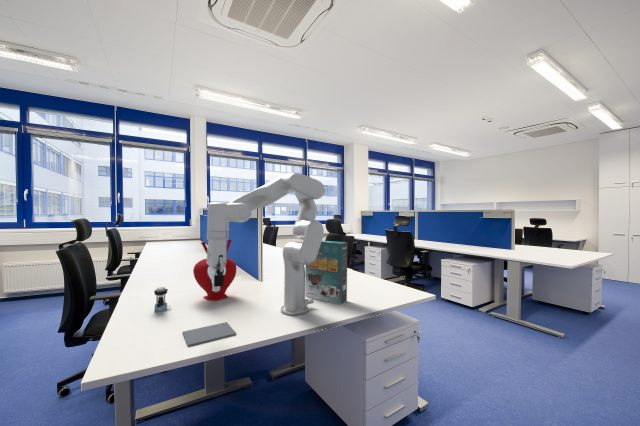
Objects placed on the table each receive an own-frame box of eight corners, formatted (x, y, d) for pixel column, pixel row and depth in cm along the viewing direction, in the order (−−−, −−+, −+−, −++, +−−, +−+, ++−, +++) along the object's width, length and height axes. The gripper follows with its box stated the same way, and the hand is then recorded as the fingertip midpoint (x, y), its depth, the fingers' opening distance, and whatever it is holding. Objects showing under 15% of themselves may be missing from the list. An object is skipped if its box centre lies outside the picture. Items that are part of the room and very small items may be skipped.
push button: (171, 307, 126) (171, 285, 126) (170, 311, 121) (170, 288, 121) (154, 309, 123) (155, 287, 123) (152, 313, 118) (153, 290, 118)
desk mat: (226, 323, 108) (226, 321, 108) (236, 334, 98) (236, 333, 98) (182, 333, 99) (182, 331, 99) (187, 346, 89) (187, 344, 89)
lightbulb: (214, 295, 95) (215, 264, 95) (203, 292, 98) (204, 262, 99) (228, 291, 101) (229, 261, 101) (217, 288, 104) (218, 260, 104)
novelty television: (226, 290, 153) (226, 238, 153) (240, 294, 146) (241, 239, 146) (190, 299, 136) (191, 240, 136) (204, 305, 129) (205, 242, 129)
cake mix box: (346, 301, 137) (347, 242, 138) (341, 304, 132) (341, 243, 132) (311, 293, 149) (312, 239, 149) (305, 296, 144) (305, 240, 144)
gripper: (202, 234, 105) (200, 280, 104) (213, 237, 91) (211, 291, 90) (221, 233, 109) (220, 278, 109) (235, 237, 95) (233, 288, 95)
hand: (216, 283), depth 100 cm, fingers closed on lightbulb, 6 cm apart
